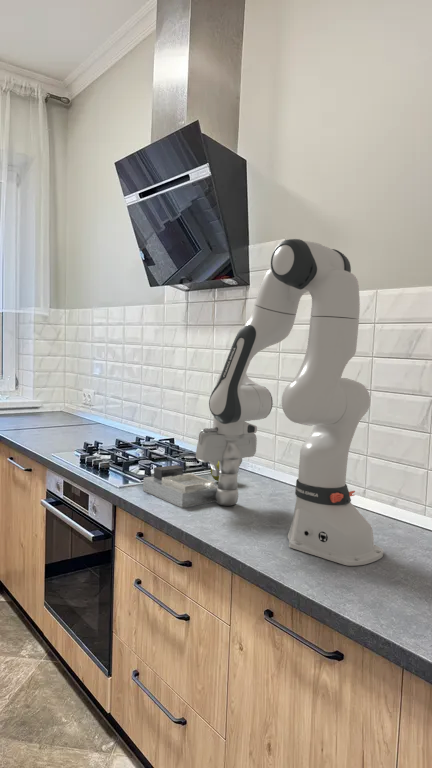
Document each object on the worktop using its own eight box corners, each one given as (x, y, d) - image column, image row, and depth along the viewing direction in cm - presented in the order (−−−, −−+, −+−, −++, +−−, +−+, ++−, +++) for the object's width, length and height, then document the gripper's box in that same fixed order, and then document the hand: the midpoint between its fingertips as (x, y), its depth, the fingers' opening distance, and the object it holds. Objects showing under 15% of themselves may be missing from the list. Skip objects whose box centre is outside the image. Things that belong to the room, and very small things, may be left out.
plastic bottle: (211, 506, 150) (215, 436, 149) (220, 500, 157) (223, 432, 156) (233, 509, 148) (237, 438, 147) (240, 503, 155) (244, 435, 153)
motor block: (220, 500, 156) (221, 477, 156) (181, 507, 147) (183, 482, 147) (174, 482, 174) (175, 461, 173) (137, 488, 165) (138, 465, 164)
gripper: (207, 430, 143) (203, 481, 144) (261, 426, 156) (257, 473, 157) (192, 426, 148) (189, 475, 149) (246, 423, 161) (243, 468, 162)
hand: (225, 474), depth 153 cm, fingers open, 6 cm apart
